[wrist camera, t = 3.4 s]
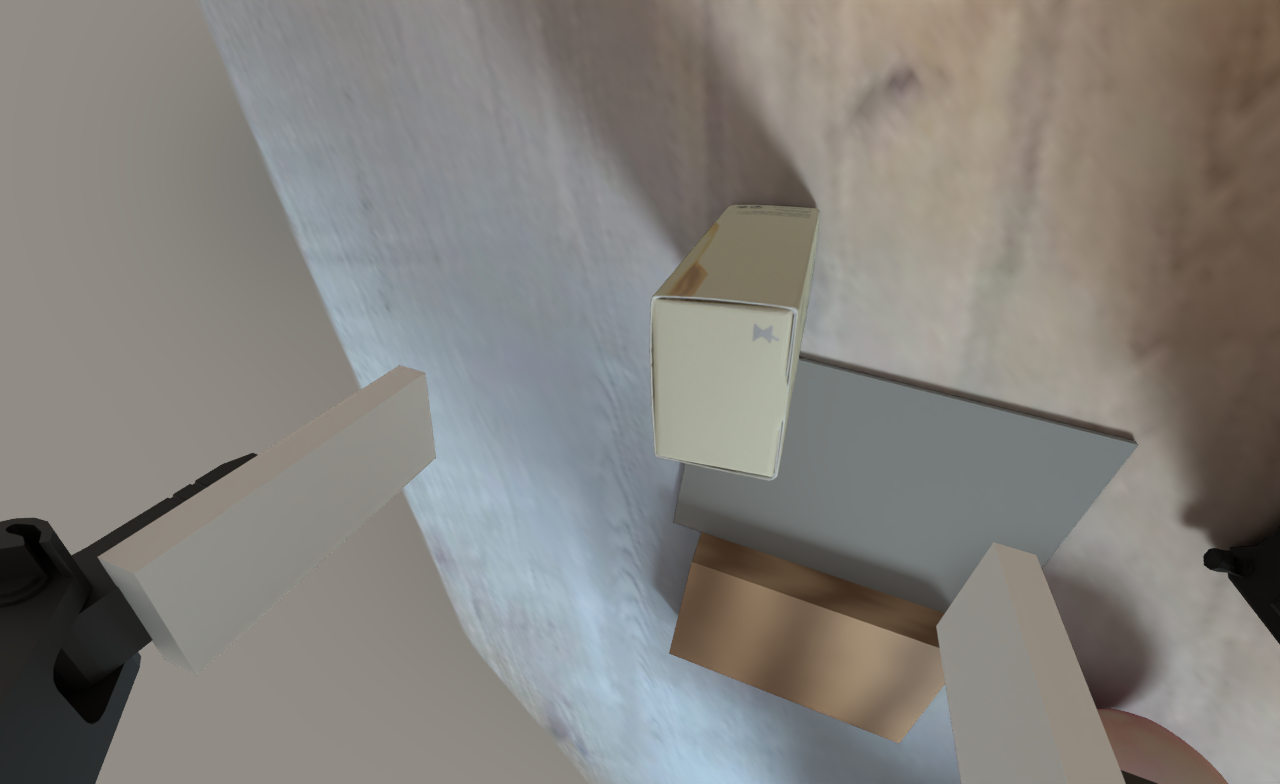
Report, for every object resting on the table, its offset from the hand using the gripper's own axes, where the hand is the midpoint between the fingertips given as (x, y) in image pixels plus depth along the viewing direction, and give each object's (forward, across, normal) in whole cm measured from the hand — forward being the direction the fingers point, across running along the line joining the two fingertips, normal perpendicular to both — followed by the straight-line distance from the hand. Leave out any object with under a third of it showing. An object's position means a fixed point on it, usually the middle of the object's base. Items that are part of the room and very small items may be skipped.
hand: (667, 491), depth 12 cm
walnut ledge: (+17, -8, +23) cm, 30 cm away
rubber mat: (+17, -8, +11) cm, 22 cm away
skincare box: (+17, 0, 0) cm, 17 cm away
